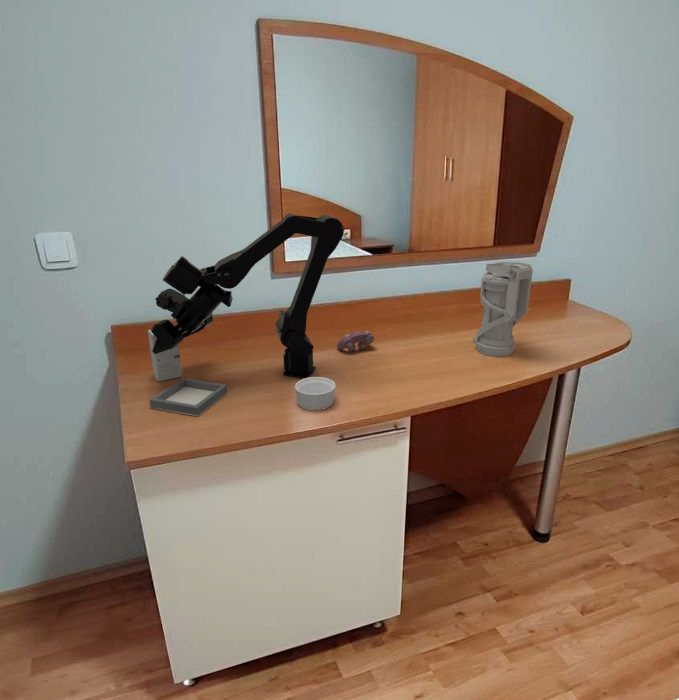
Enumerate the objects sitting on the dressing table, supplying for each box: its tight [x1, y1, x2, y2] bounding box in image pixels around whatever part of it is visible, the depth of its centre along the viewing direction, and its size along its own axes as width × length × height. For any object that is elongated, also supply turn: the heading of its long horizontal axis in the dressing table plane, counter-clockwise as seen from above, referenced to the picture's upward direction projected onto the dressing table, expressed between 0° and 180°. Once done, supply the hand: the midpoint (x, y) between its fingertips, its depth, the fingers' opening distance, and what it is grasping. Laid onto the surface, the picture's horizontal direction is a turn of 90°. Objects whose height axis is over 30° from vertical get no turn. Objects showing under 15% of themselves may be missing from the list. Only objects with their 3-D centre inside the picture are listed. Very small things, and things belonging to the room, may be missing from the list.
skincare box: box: [147, 329, 183, 382], centre depth 125 cm, size 6×4×12 cm
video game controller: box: [336, 330, 375, 352], centre depth 142 cm, size 10×5×7 cm, turn 114°
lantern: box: [472, 261, 534, 358], centre depth 136 cm, size 13×10×25 cm
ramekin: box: [294, 376, 336, 411], centre depth 113 cm, size 9×9×4 cm
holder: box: [149, 377, 229, 417], centre depth 114 cm, size 12×12×2 cm
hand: (164, 345), depth 124 cm, fingers open, 9 cm apart
